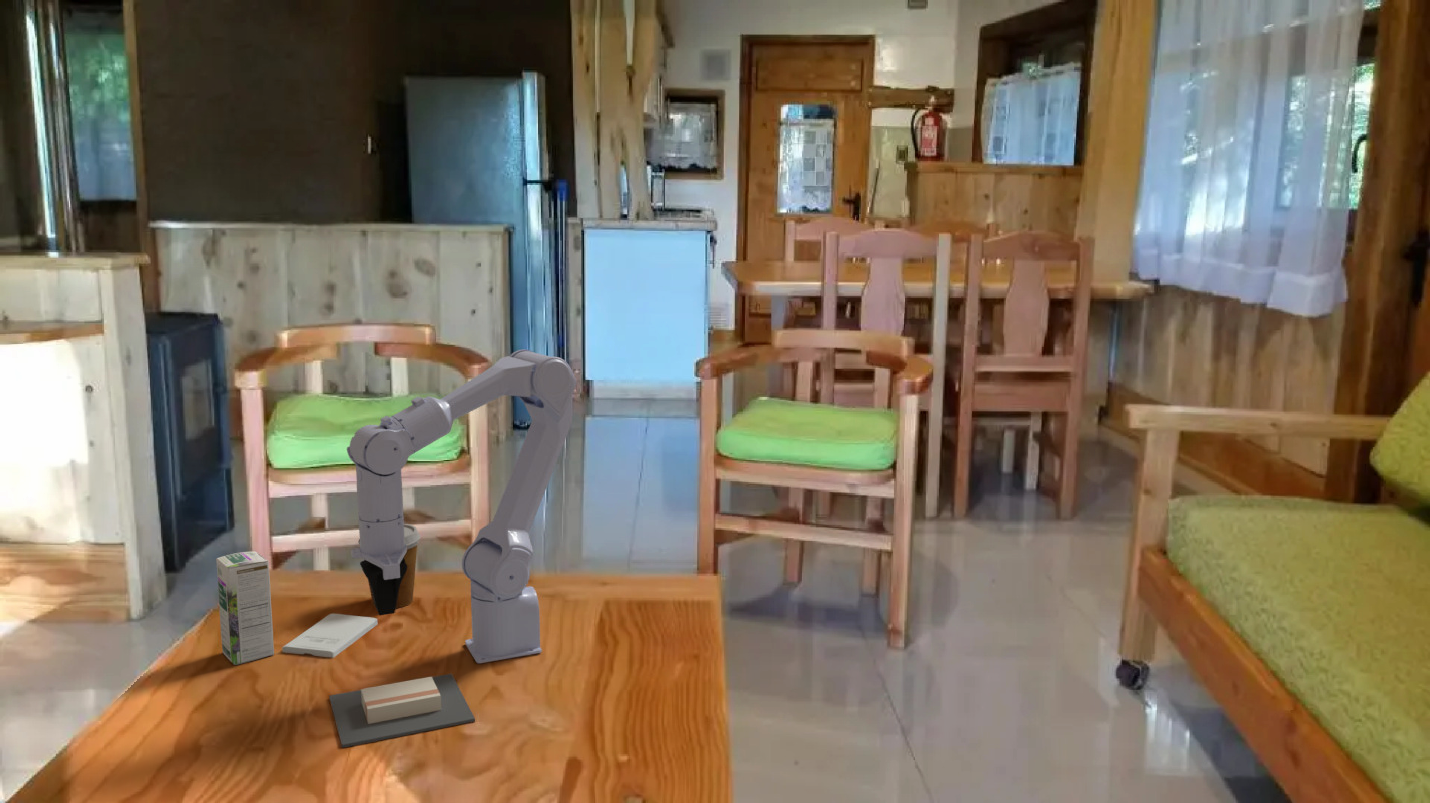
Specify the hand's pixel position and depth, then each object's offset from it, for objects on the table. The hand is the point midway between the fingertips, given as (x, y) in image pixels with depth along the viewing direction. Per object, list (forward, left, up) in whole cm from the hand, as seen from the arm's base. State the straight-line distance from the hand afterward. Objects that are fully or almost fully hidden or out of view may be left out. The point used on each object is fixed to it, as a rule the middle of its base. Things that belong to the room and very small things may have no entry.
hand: (386, 612), depth 145 cm
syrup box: (+17, -17, -10) cm, 26 cm away
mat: (0, +9, -10) cm, 13 cm away
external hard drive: (+6, -18, -11) cm, 22 cm away
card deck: (0, +6, -8) cm, 10 cm away
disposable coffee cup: (-5, -29, -10) cm, 31 cm away
